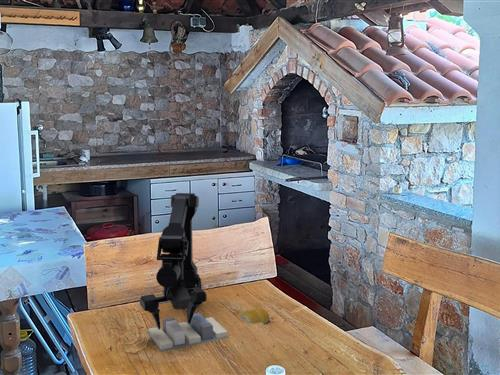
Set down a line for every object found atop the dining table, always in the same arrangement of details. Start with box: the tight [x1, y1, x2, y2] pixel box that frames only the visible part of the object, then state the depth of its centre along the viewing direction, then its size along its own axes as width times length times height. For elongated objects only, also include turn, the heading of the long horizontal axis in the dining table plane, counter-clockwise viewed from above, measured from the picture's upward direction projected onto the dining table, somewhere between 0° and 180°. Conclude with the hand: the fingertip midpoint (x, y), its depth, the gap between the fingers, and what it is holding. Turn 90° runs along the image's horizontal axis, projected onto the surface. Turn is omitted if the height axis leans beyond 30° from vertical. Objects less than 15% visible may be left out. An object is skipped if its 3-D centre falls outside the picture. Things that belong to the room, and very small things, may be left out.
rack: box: [146, 316, 230, 353], centre depth 169 cm, size 14×21×2 cm, turn 117°
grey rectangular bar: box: [190, 312, 213, 340], centre depth 170 cm, size 10×3×4 cm, turn 27°
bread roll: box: [240, 308, 270, 325], centre depth 182 cm, size 8×9×4 cm
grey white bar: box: [162, 316, 185, 345], centre depth 167 cm, size 10×3×4 cm, turn 27°
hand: (174, 326), depth 167 cm, fingers open, 9 cm apart
